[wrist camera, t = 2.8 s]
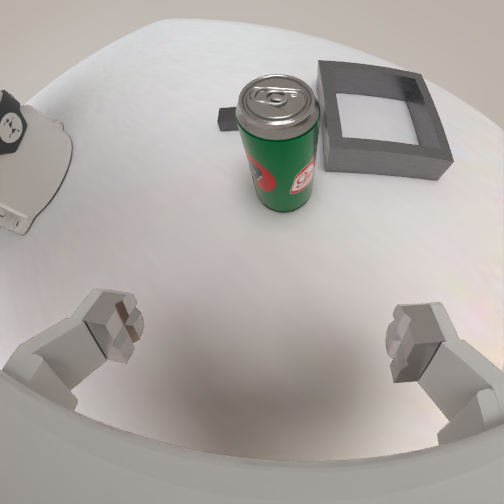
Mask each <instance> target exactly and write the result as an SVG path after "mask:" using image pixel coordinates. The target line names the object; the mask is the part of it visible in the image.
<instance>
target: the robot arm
mask: <svg viewBox="0 0 504 504" xmlns="http://www.w3.org/2000/svg"><path fill="white" fill-rule="evenodd" d="M71 152H72V142H71V139H70V137H69V135H68V134H66V133H65V132H64V131H63V124H62V122H60V121H59V120H55V121H53V122H52V121H51V120H49V119H48V118H47V117H45V116H44V115H42V114H41V113H40V112H38V111H37V110H36V109H34V108H33V107H31V106H30V105H23V106H20V103H19V102H18V101H17V100H16V99H15V98H14V96H12V95H11V94H8V92H6V91H5V90H2V91H0V226H1V227H4V228H6V229H8V230H11V231H13V232H16V233H18V234H21V235H24V234H25V233H26V231H27V230H28V228H29V227H30V225H31V223H32V221H33V219H34V218H35V216H36V215H37V214H38V213H39V212H40V211H41V210H42V209H43V208H44V207H45V206H46V205H47V204H48V202H49V201H50V200H51V198H52V197H53V195H54V194H55V192H56V191H57V189H58V187H59V186H60V184H61V182H62V180H63V178H64V175H65V173H66V171H67V168H68V165H69V162H70V158H71ZM136 304H137V300H136V298H135V296H134V294H132V293H128V292H121V291H114V290H105V289H99V288H96V289H93V290H92V291H91V292H90V294H89V295H88V296H87V297H86V299H85V300H84V301H83V302H82V304H81V305H80V306H79V307H78V309H77V310H76V311H75V313H74V314H73V315H72V317H71V318H66V319H64V320H62V321H60V322H59V323H57V324H55V325H53V326H52V327H50V328H48V329H46V330H45V331H43V332H41V333H39V334H38V335H36V336H34V337H32V338H31V339H29V340H27V341H26V342H24V343H22V344H20V345H19V346H18V348H17V349H16V350H15V352H14V353H13V355H12V356H11V357H10V359H9V360H8V362H7V363H6V365H5V366H4V368H3V369H2V371H1V370H0V504H504V373H503V372H502V371H501V370H500V369H499V368H498V367H496V366H495V365H494V364H493V363H492V362H491V361H489V360H488V359H487V358H486V357H484V356H483V355H482V354H481V353H480V352H478V351H477V350H476V349H475V348H473V347H472V346H471V345H470V344H468V343H467V342H466V341H465V340H460V339H459V337H458V335H457V332H456V330H455V328H454V326H453V324H452V322H451V320H450V318H449V316H448V314H447V311H446V309H445V308H444V306H443V304H442V303H440V302H436V303H426V304H425V303H422V304H398V305H397V306H396V307H395V309H394V312H393V317H394V321H393V322H392V323H391V324H389V326H388V329H387V332H386V350H387V354H388V355H389V356H390V357H391V358H392V359H393V360H392V362H391V364H390V368H391V373H392V378H393V382H394V383H401V382H413V381H418V383H419V385H420V386H421V387H422V388H423V389H424V391H425V392H426V393H427V394H428V395H429V397H430V398H431V399H432V400H433V402H434V403H435V404H436V405H437V406H438V408H439V409H440V410H441V411H442V413H443V414H444V415H445V416H446V418H447V419H448V420H449V421H450V422H449V423H447V424H446V425H445V426H444V427H443V428H442V429H441V430H440V431H439V433H438V434H437V436H438V442H439V445H438V446H434V447H430V448H425V449H421V450H416V451H411V452H406V453H400V454H394V455H387V456H380V457H372V458H362V459H351V460H334V461H284V460H267V459H255V458H245V457H237V456H229V455H222V454H216V453H210V452H205V451H199V450H194V449H189V448H185V447H180V446H176V445H172V444H168V443H164V442H160V441H156V440H153V439H149V438H146V437H142V436H139V435H136V434H133V433H130V432H127V431H124V430H121V429H118V428H115V427H112V426H110V425H107V424H104V423H102V422H99V421H97V420H94V419H92V418H89V417H87V416H85V415H82V414H80V413H78V412H75V411H74V409H75V407H76V405H77V403H78V401H77V398H76V397H75V396H74V395H73V394H72V393H71V391H70V390H71V389H73V388H74V387H75V386H76V385H78V384H79V383H80V382H81V381H82V380H84V379H85V378H86V377H87V376H89V375H90V374H91V373H92V372H93V371H95V370H96V369H97V368H98V367H100V366H101V365H102V364H103V363H105V362H106V361H107V360H112V361H116V362H121V363H125V364H127V362H128V360H129V358H130V357H131V355H132V353H133V351H134V345H133V343H134V342H136V341H138V340H139V339H140V337H141V335H142V333H143V329H144V319H143V316H142V313H141V312H140V311H139V310H138V309H137V308H136ZM106 359H107V360H106Z"/></svg>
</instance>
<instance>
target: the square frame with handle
mask: <svg viewBox="0 0 504 504" xmlns="http://www.w3.org/2000/svg"><path fill="white" fill-rule="evenodd" d="M317 89H318V97H319V105H320V114H321V124H322V135H323V146H324V159H325V171H331V172H351V173H367V174H380V175H392V176H402V177H412V178H421V179H429V180H438V179H439V178H440V177H441V176H442V175H443V173H444V172H445V171H446V170H447V169H448V168H449V167H450V166H451V164H452V163H453V162H454V161H453V157H452V154H451V150H450V147H449V144H448V141H447V138H446V135H445V132H444V129H443V126H442V123H441V120H440V118H439V115H438V112H437V110H436V107H435V105H434V102H433V100H432V98H431V95H430V93H429V91H428V88H427V86H426V84H425V82H424V79H423V77H422V75H421V74H418V73H413V72H409V71H404V70H398V69H393V68H387V67H381V66H374V65H367V64H358V63H349V62H337V61H321V60H318V76H317ZM336 93H348V94H359V95H369V96H377V97H384V98H391V99H398V100H404V101H406V102H407V105H408V108H409V111H410V114H411V117H412V120H413V124H414V127H415V130H416V134H417V137H418V141H419V144H420V146H419V145H413V144H405V143H398V142H389V141H380V140H370V139H359V138H345V137H342V131H341V124H340V117H339V110H338V104H337V98H336ZM235 110H236V107H230V108H220V110H219V116H218V125H219V128H220V130H221V131H231V130H239V128H238V125H237V121H236V117H235Z"/></svg>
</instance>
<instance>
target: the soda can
mask: <svg viewBox="0 0 504 504" xmlns="http://www.w3.org/2000/svg"><path fill="white" fill-rule="evenodd" d="M235 117H236V121H237V125H238V128H239V132H240V135H241V138H242V142H243V145H244V149H245V152H246V156H247V159H248V163H249V166H250V170H251V173H252V177H253V181H254V184H255V188H256V191H257V194H258V197H259V198H260V200H261V201H262V202H263V203H264V204H265V205H266V206H268V207H269V208H271V209H274V210H278V211H290V210H294V209H296V208H298V207H300V206H302V205H303V204H304V203H305V202H306V201H307V200H308V198H309V197H310V194H311V191H312V184H313V176H314V168H315V160H316V152H317V143H318V134H319V124H320V106H319V103H318V101H317V99H316V98H315V96H314V93H313V91H312V89H311V88H310V87H309V85H307V84H306V83H305V82H304V81H302V80H300V79H298V78H296V77H293V76H289V75H283V74H273V75H266V76H262V77H259V78H257V79H255V80H253V81H251V82H250V83H248V84H247V85H246V86H245V87H244V88H243V90H242V91H241V93H240V95H239V100H238V104H237V106H236V110H235Z"/></svg>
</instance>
